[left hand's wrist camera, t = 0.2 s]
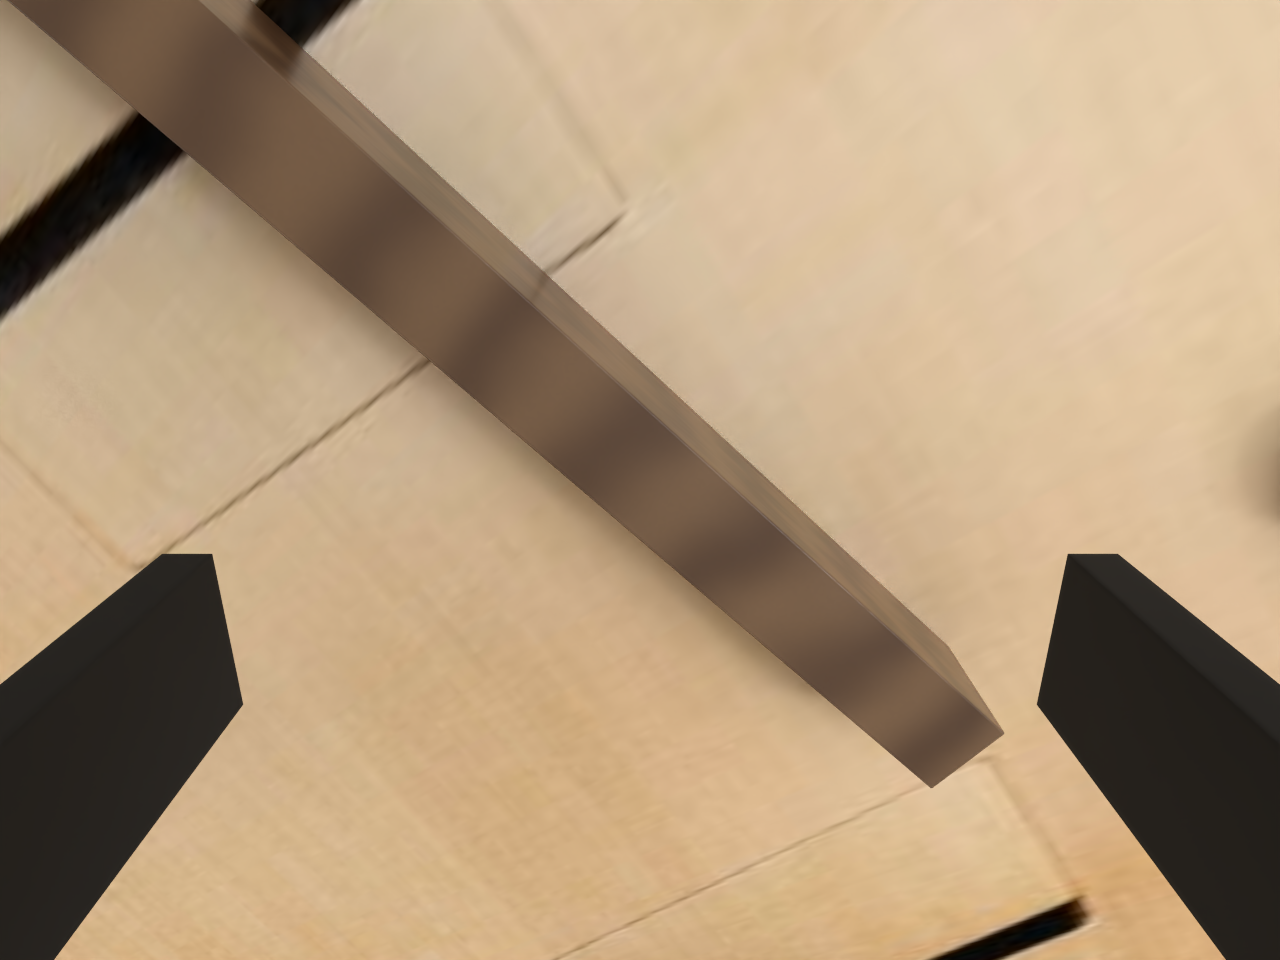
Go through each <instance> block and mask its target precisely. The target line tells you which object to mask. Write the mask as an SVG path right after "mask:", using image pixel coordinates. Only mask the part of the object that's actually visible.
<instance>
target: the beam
mask: <svg viewBox="0 0 1280 960" xmlns="http://www.w3.org/2000/svg"><path fill="white" fill-rule="evenodd" d="M8 1H9V2H10V3H11V4H12V5H14V6H15V7H16V8H17V9H18V10H20V11H21V12H22V13H23V14H24V15H25V16H27V17H28V18H29V19H30V20H31V21H32V22H34V23H35V24H36V25H37V26H38V27H39V28H41V29H42V30H43V31H44V32H45V33H46V34H48V35H49V36H50V37H51V38H52V39H53V40H55V41H56V42H57V43H58V44H59V45H61V46H62V47H63V48H64V49H65V50H66V51H68V52H69V53H70V54H71V55H72V56H73V57H75V58H76V59H77V60H78V61H79V62H80V63H82V64H83V65H84V66H85V67H86V68H87V69H89V70H90V71H91V72H92V73H93V74H95V75H96V76H97V77H98V78H99V79H100V80H102V81H103V82H104V83H105V84H106V85H107V86H109V87H110V88H111V89H112V90H113V91H114V92H116V93H117V94H118V95H119V96H120V97H121V98H123V99H124V100H125V101H126V102H127V103H129V104H130V105H131V106H132V107H133V108H134V109H136V110H137V111H138V112H139V113H140V114H141V115H143V116H144V117H145V118H146V119H147V120H148V121H150V122H151V123H152V124H153V125H154V126H155V127H157V128H158V129H159V130H160V131H161V132H163V133H164V134H165V135H166V136H167V137H168V138H170V139H171V140H172V141H173V142H174V143H175V144H177V145H178V146H179V147H180V148H181V149H182V150H184V151H185V152H186V153H187V154H188V155H189V156H191V157H192V158H193V159H194V160H195V161H196V162H198V163H199V164H200V165H201V166H202V167H204V168H205V169H206V170H207V171H208V172H209V173H211V174H212V175H213V176H214V177H215V178H216V179H218V180H219V181H220V182H221V183H222V184H223V185H225V186H226V187H227V188H228V189H229V190H230V191H232V192H233V193H234V194H235V195H236V196H238V197H239V198H240V199H241V200H242V201H243V202H245V203H246V204H247V205H248V206H249V207H250V208H252V209H253V210H254V211H255V212H256V213H257V214H259V215H260V216H261V217H262V218H263V219H264V220H266V221H267V222H268V223H269V224H270V225H272V226H273V227H274V228H275V229H276V230H277V231H279V232H280V233H281V234H282V235H283V236H284V237H286V238H287V239H288V240H289V241H290V242H291V243H293V244H294V245H295V246H296V247H297V248H298V249H300V250H301V251H302V252H303V253H304V254H305V255H307V256H308V257H309V258H310V259H311V260H313V261H314V262H315V263H316V264H317V265H318V266H320V267H321V268H322V269H323V270H324V271H325V272H327V273H328V274H329V275H330V276H331V277H332V278H334V279H335V280H336V281H337V282H338V283H339V284H341V285H342V286H343V287H344V288H345V289H347V290H348V291H349V292H350V293H351V294H352V295H354V296H355V297H356V298H357V299H358V300H359V301H361V302H362V303H363V304H364V305H365V306H366V307H368V308H369V309H370V310H371V311H372V312H373V313H375V314H376V315H377V316H378V317H379V318H381V319H382V320H383V321H384V322H385V323H386V324H388V325H389V326H390V327H391V328H392V329H393V330H395V331H396V332H397V333H398V334H399V335H400V336H402V337H403V338H404V339H405V340H406V341H407V342H409V343H410V344H411V345H412V346H413V347H415V348H416V349H417V350H418V351H419V352H420V353H422V354H423V355H424V356H425V357H426V358H427V359H429V360H430V361H431V362H432V363H433V364H434V365H436V366H437V367H438V368H439V369H440V370H441V371H443V372H444V373H445V374H446V375H447V376H448V377H450V378H451V379H452V380H453V381H454V382H456V383H457V384H458V385H459V386H460V387H461V388H463V389H464V390H465V391H466V392H467V393H468V394H470V395H471V396H472V397H473V398H474V399H475V400H477V401H478V402H479V403H480V404H481V405H482V406H484V407H485V408H486V409H487V410H488V411H490V412H491V413H492V414H493V415H494V416H495V417H497V418H498V419H499V420H500V421H501V422H502V423H504V424H505V425H506V426H507V427H508V428H509V429H511V430H512V431H513V432H514V433H515V434H516V435H518V436H519V437H520V438H521V439H522V440H524V441H525V442H526V443H527V444H528V445H529V446H531V447H532V448H533V449H534V450H535V451H536V452H538V453H539V454H540V455H541V456H542V457H543V458H545V459H546V460H547V461H548V462H549V463H550V464H552V465H553V466H554V467H555V468H556V469H558V470H559V471H560V472H561V473H562V474H563V475H565V476H566V477H567V478H568V479H569V480H570V481H572V482H573V483H574V484H575V485H576V486H577V487H579V488H580V489H581V490H582V491H583V492H584V493H586V494H587V495H588V496H589V497H590V498H591V499H593V500H594V501H595V502H596V503H597V504H599V505H600V506H601V507H602V508H603V509H604V510H606V511H607V512H608V513H609V514H610V515H611V516H613V517H614V518H615V519H616V520H617V521H618V522H620V523H621V524H622V525H623V526H624V527H625V528H627V529H628V530H629V531H630V532H631V533H633V534H634V535H635V536H636V537H637V538H638V539H640V540H641V541H642V542H643V543H644V544H645V545H647V546H648V547H649V548H650V549H651V550H652V551H654V552H655V553H656V554H657V555H658V556H659V557H661V558H662V559H663V560H664V561H665V562H667V563H668V564H669V565H670V566H671V567H672V568H674V569H675V570H676V571H677V572H678V573H679V574H681V575H682V576H683V577H684V578H685V579H686V580H688V581H689V582H690V583H691V584H692V585H693V586H695V587H696V588H697V589H698V590H699V591H701V592H702V593H703V594H704V595H705V596H706V597H708V598H709V599H710V600H711V601H712V602H713V603H715V604H716V605H717V606H718V607H719V608H720V609H722V610H723V611H724V612H725V613H726V614H727V615H729V616H730V617H731V618H732V619H733V620H734V621H736V622H737V623H738V624H739V625H740V626H742V627H743V628H744V629H745V630H746V631H747V632H749V633H750V634H751V635H752V636H753V637H754V638H756V639H757V640H758V641H759V642H760V643H761V644H763V645H764V646H765V647H766V648H767V649H768V650H770V651H771V652H772V653H773V654H774V655H776V656H777V657H778V658H779V659H780V660H781V661H783V662H784V663H785V664H786V665H787V666H788V667H790V668H791V669H792V670H793V671H794V672H795V673H797V674H798V675H799V676H800V677H801V678H802V679H804V680H805V681H806V682H807V683H808V684H810V685H811V686H812V687H813V688H814V689H815V690H817V691H818V692H819V693H820V694H821V695H822V696H824V697H825V698H826V699H827V700H828V701H829V702H831V703H832V704H833V705H834V706H835V707H836V708H838V709H839V710H840V711H841V712H842V713H844V714H845V715H846V716H847V717H848V718H849V719H851V720H852V721H853V722H854V723H855V724H856V725H858V726H859V727H860V728H861V729H862V730H863V731H865V732H866V733H867V734H868V735H869V736H870V737H872V738H873V739H874V740H875V741H876V742H877V743H879V744H880V745H881V746H882V747H883V748H885V749H886V750H887V751H888V752H889V753H890V754H892V755H893V756H894V757H895V758H896V759H897V760H899V761H900V762H901V763H902V764H903V765H904V766H906V767H907V768H908V769H909V770H910V771H911V772H913V773H914V774H915V775H916V776H917V777H919V778H920V779H921V780H922V781H923V782H924V783H926V784H927V785H928V786H929V787H930V788H933V787H934V786H936V785H937V784H938V783H940V782H941V781H942V780H944V779H945V778H946V777H948V776H949V775H950V774H952V773H953V772H954V771H956V770H957V769H958V768H960V767H961V766H962V765H964V764H965V763H966V762H968V761H969V760H970V759H972V758H973V757H974V756H976V755H977V754H978V753H979V752H981V751H982V750H983V749H985V748H986V747H987V746H989V745H990V744H991V743H993V742H994V741H995V740H997V739H998V738H999V737H1001V736H1002V735H1003V734H1004V732H1003V730H1002V729H1001V727H1000V725H999V724H998V722H997V721H996V719H995V718H994V716H993V715H992V713H991V712H990V710H989V708H988V707H987V705H986V704H985V702H984V701H983V699H982V698H981V696H980V695H979V693H978V691H977V690H976V688H975V687H974V685H973V684H972V682H971V681H970V679H969V678H968V676H967V674H966V673H965V671H964V670H963V668H962V667H961V665H960V664H959V662H958V661H957V659H956V657H955V656H954V654H953V653H952V651H951V650H950V648H949V647H948V646H947V645H946V644H945V643H944V642H943V641H942V640H941V639H940V638H938V637H937V636H936V635H935V634H934V633H933V632H932V631H931V630H930V629H929V628H928V627H927V626H926V625H924V624H923V623H922V622H921V621H920V620H919V619H918V618H917V617H916V616H915V615H914V614H913V613H911V612H910V611H909V610H908V609H907V608H906V607H905V606H904V605H903V604H902V603H901V602H900V601H899V600H897V599H896V598H895V597H894V596H893V595H892V594H891V593H890V592H889V591H888V590H887V589H886V588H884V587H883V586H882V585H881V584H880V583H879V582H878V581H877V580H876V579H875V578H874V577H873V576H872V575H870V574H869V573H868V572H867V571H866V570H865V569H864V568H863V567H862V566H861V565H860V564H859V563H857V562H856V561H855V560H854V559H853V558H852V557H851V556H850V555H849V554H848V553H847V552H846V551H845V550H843V549H842V548H841V547H840V546H839V545H838V544H837V543H836V542H835V541H834V540H833V539H832V538H830V537H829V536H828V535H827V534H826V533H825V532H824V531H823V530H822V529H821V528H820V527H819V526H818V525H816V524H815V523H814V522H813V521H812V520H811V519H810V518H809V517H808V516H807V515H806V514H805V513H803V512H802V511H801V510H800V509H799V508H798V507H797V506H796V505H795V504H794V503H793V502H792V501H791V500H789V499H788V498H787V497H786V496H785V495H784V494H783V493H782V492H781V491H780V490H779V489H778V488H776V487H775V486H774V485H773V484H772V483H771V482H770V481H769V480H768V479H767V478H766V477H765V476H764V475H762V474H761V473H760V472H759V471H758V470H757V469H756V468H755V467H754V466H753V465H752V464H751V463H749V462H748V461H747V460H746V459H745V458H744V457H743V456H742V455H741V454H740V453H739V452H738V451H737V450H735V449H734V448H733V447H732V446H731V445H730V444H729V443H728V442H727V441H726V440H725V439H724V438H722V437H721V436H720V435H719V434H718V433H717V432H716V431H715V430H714V429H713V428H712V427H711V426H710V425H708V424H707V423H706V422H705V421H704V420H703V419H702V418H701V417H700V416H699V415H698V414H697V413H695V412H694V411H693V410H692V409H691V408H690V407H689V406H688V405H687V404H686V403H685V402H684V401H682V400H681V399H680V398H679V397H678V396H677V395H676V394H675V393H674V392H673V391H672V390H671V389H670V388H668V387H667V386H666V385H665V384H664V383H663V382H662V381H661V380H660V379H659V378H658V377H657V376H655V375H654V374H653V373H652V372H651V371H650V370H649V369H648V368H647V367H646V366H645V365H644V364H643V363H641V362H640V361H639V360H638V359H637V358H636V357H635V356H634V355H633V354H632V353H631V352H630V351H628V350H627V349H626V348H625V347H624V346H623V345H622V344H621V343H620V342H619V341H618V340H617V339H616V338H614V337H613V336H612V335H611V334H610V333H609V332H608V331H607V330H606V329H605V328H604V327H603V326H601V325H600V324H599V323H598V322H597V321H596V320H595V319H594V318H593V317H592V316H591V315H590V314H589V313H587V312H586V311H585V310H584V309H583V308H582V307H581V306H580V305H579V304H578V303H577V302H576V301H574V300H573V299H572V298H571V297H570V296H569V295H568V294H567V293H566V292H565V291H564V290H563V289H562V288H560V287H559V286H558V285H557V284H556V283H555V282H554V281H553V280H552V279H551V278H550V277H549V276H547V275H546V274H545V273H544V272H543V271H542V270H541V269H540V268H539V267H538V266H537V265H536V264H535V263H533V262H532V261H531V260H530V259H529V258H528V257H527V256H526V255H525V254H524V253H523V252H522V251H520V250H519V249H518V248H517V247H516V246H515V245H514V244H513V243H512V242H511V241H510V240H509V239H508V238H506V237H505V236H504V235H503V234H502V233H501V232H500V231H499V230H498V229H497V228H496V227H495V226H493V225H492V224H491V223H490V222H489V221H488V220H487V219H486V218H485V217H484V216H483V215H482V214H481V213H479V212H478V211H477V210H476V209H475V208H474V207H473V206H472V205H471V204H470V203H469V202H468V201H466V200H465V199H464V198H463V197H462V196H461V195H460V194H459V193H458V192H457V191H456V190H455V189H454V188H452V187H451V186H450V185H449V184H448V183H447V182H446V181H445V180H444V179H443V178H442V177H441V176H439V175H438V174H437V173H436V172H435V171H434V170H433V169H432V168H431V167H430V166H429V165H428V164H426V163H425V162H424V161H423V160H422V159H421V158H420V157H419V156H418V155H417V154H416V153H415V152H414V151H412V150H411V149H410V148H409V147H408V146H407V145H406V144H405V143H404V142H403V141H402V140H401V139H399V138H398V137H397V136H396V135H395V134H394V133H393V132H392V131H391V130H390V129H389V128H388V127H387V126H385V125H384V124H383V123H382V122H381V121H380V120H379V119H378V118H377V117H376V116H375V115H374V114H372V113H371V112H370V111H369V110H368V109H367V108H366V107H365V106H364V105H363V104H362V103H361V102H360V101H358V100H357V99H356V98H355V97H354V96H353V95H352V94H351V93H350V92H349V91H348V90H347V89H345V88H344V87H343V86H342V85H341V84H340V83H339V82H338V81H337V80H336V79H335V78H334V77H333V76H331V75H330V74H329V73H328V72H327V71H326V70H325V69H324V68H323V67H322V66H321V65H320V64H318V63H317V62H316V61H315V60H314V59H313V58H312V57H311V56H310V55H309V54H308V53H307V52H306V51H304V50H303V49H302V48H301V47H300V46H299V45H298V44H297V43H296V42H295V41H294V40H293V39H291V38H290V37H289V36H288V35H287V34H286V33H285V32H284V31H283V30H282V29H281V28H280V27H279V26H277V25H276V24H275V23H274V22H273V21H272V20H271V19H270V18H269V17H268V16H267V15H266V14H264V13H263V12H262V11H261V10H260V9H259V8H258V7H257V6H256V5H255V4H254V3H253V2H252V1H250V0H8Z"/></svg>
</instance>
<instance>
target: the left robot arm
mask: <svg viewBox="0 0 1280 960" xmlns="http://www.w3.org/2000/svg"><path fill="white" fill-rule="evenodd" d="M242 705H243V702H242V697H241V692H240V687H239V682H238V677H237V672H236V668H235V663H234V658H233V653H232V648H231V643H230V638H229V634H228V629H227V624H226V619H225V614H224V609H223V604H222V600H221V595H220V590H219V585H218V580H217V575H216V570H215V566H214V561H213V556H212V554H162V555H160V556H159V557H158V558H157V559H155V560H154V561H153V562H152V563H150V564H149V565H148V566H147V567H145V568H144V569H143V570H142V571H140V572H139V573H138V574H137V575H135V576H134V577H133V578H132V579H131V580H129V581H128V582H127V583H126V584H124V585H123V586H122V587H121V588H119V589H118V590H117V591H116V592H114V593H113V594H112V595H111V596H109V597H108V598H107V599H106V600H104V601H103V602H102V603H101V604H100V605H98V606H97V607H96V608H95V609H93V610H92V611H91V612H90V613H88V614H87V615H86V616H85V617H83V618H82V619H81V620H80V621H78V622H77V623H76V624H75V625H73V626H72V627H71V628H70V629H69V630H67V631H66V632H65V633H64V634H62V635H61V636H60V637H59V638H57V639H56V640H55V641H54V642H52V643H51V644H50V645H49V646H47V647H46V648H45V649H44V650H42V651H41V652H40V653H39V654H38V655H36V656H35V657H34V658H33V659H31V660H30V661H29V662H28V663H26V664H25V665H24V666H23V667H21V668H20V669H19V670H18V671H16V672H15V673H14V674H13V675H11V676H10V677H9V678H8V679H7V680H5V681H4V682H3V683H2V684H0V960H54V959H55V958H56V956H57V955H58V954H59V952H60V951H61V950H62V948H63V947H64V946H65V944H66V943H67V942H68V940H69V939H70V937H71V936H72V935H73V933H74V932H75V931H76V929H77V928H78V927H79V925H80V924H81V923H82V921H83V920H84V919H85V917H86V916H87V915H88V913H89V912H90V910H91V909H92V908H93V906H94V905H95V904H96V902H97V901H98V900H99V898H100V897H101V896H102V894H103V893H104V892H105V890H106V889H107V888H108V886H109V885H110V883H111V882H112V881H113V879H114V878H115V877H116V875H117V874H118V873H119V871H120V870H121V869H122V867H123V866H124V865H125V863H126V862H127V861H128V859H129V858H130V856H131V855H132V854H133V852H134V851H135V850H136V848H137V847H138V846H139V844H140V843H141V842H142V840H143V839H144V838H145V836H146V835H147V834H148V832H149V831H150V829H151V828H152V827H153V825H154V824H155V823H156V821H157V820H158V819H159V817H160V816H161V815H162V813H163V812H164V811H165V809H166V808H167V807H168V805H169V804H170V802H171V801H172V800H173V798H174V797H175V796H176V794H177V793H178V792H179V790H180V789H181V788H182V786H183V785H184V784H185V782H186V781H187V780H188V778H189V777H190V775H191V774H192V773H193V771H194V770H195V769H196V767H197V766H198V765H199V763H200V762H201V761H202V759H203V758H204V757H205V755H206V754H207V753H208V751H209V750H210V748H211V747H212V746H213V744H214V743H215V742H216V740H217V739H218V738H219V736H220V735H221V734H222V732H223V731H224V730H225V728H226V727H227V726H228V724H229V723H230V721H231V720H232V719H233V717H234V716H235V715H236V713H237V712H238V711H239V709H240V708H241V707H242ZM1037 705H1038V707H1039V708H1040V709H1041V711H1042V712H1043V713H1044V715H1045V716H1046V717H1047V719H1048V720H1049V721H1050V723H1051V724H1052V726H1053V727H1054V728H1055V730H1056V731H1057V732H1058V734H1059V735H1060V736H1061V738H1062V739H1063V740H1064V742H1065V743H1066V744H1067V746H1068V747H1069V748H1070V750H1071V751H1072V753H1073V754H1074V755H1075V757H1076V758H1077V759H1078V761H1079V762H1080V763H1081V765H1082V766H1083V767H1084V769H1085V770H1086V771H1087V773H1088V774H1089V775H1090V777H1091V778H1092V780H1093V781H1094V782H1095V784H1096V785H1097V786H1098V788H1099V789H1100V790H1101V792H1102V793H1103V794H1104V796H1105V797H1106V798H1107V800H1108V801H1109V802H1110V804H1111V805H1112V807H1113V808H1114V809H1115V811H1116V812H1117V813H1118V815H1119V816H1120V817H1121V819H1122V820H1123V821H1124V823H1125V824H1126V825H1127V827H1128V828H1129V829H1130V831H1131V832H1132V834H1133V835H1134V836H1135V838H1136V839H1137V840H1138V842H1139V843H1140V844H1141V846H1142V847H1143V848H1144V850H1145V851H1146V852H1147V854H1148V855H1149V856H1150V858H1151V859H1152V861H1153V862H1154V863H1155V865H1156V866H1157V867H1158V869H1159V870H1160V871H1161V873H1162V874H1163V875H1164V877H1165V878H1166V879H1167V881H1168V882H1169V883H1170V885H1171V886H1172V888H1173V889H1174V890H1175V892H1176V893H1177V894H1178V896H1179V897H1180V898H1181V900H1182V901H1183V902H1184V904H1185V905H1186V906H1187V908H1188V909H1189V910H1190V912H1191V913H1192V915H1193V916H1194V917H1195V919H1196V920H1197V921H1198V923H1199V924H1200V925H1201V927H1202V928H1203V929H1204V931H1205V932H1206V933H1207V935H1208V936H1209V937H1210V939H1211V940H1212V942H1213V943H1214V944H1215V946H1216V947H1217V948H1218V950H1219V951H1220V952H1221V954H1222V955H1223V956H1224V958H1225V959H1226V960H1280V684H1278V683H1277V682H1276V681H1275V680H1273V679H1272V678H1271V677H1270V676H1269V675H1267V674H1266V673H1265V672H1264V671H1262V670H1261V669H1260V668H1259V667H1257V666H1256V665H1255V664H1254V663H1252V662H1251V661H1250V660H1249V659H1247V658H1246V657H1245V656H1244V655H1242V654H1241V653H1240V652H1239V651H1238V650H1236V649H1235V648H1234V647H1233V646H1231V645H1230V644H1229V643H1228V642H1226V641H1225V640H1224V639H1223V638H1221V637H1220V636H1219V635H1218V634H1216V633H1215V632H1214V631H1213V630H1211V629H1210V628H1209V627H1208V626H1207V625H1205V624H1204V623H1203V622H1202V621H1200V620H1199V619H1198V618H1197V617H1195V616H1194V615H1193V614H1192V613H1190V612H1189V611H1188V610H1187V609H1185V608H1184V607H1183V606H1182V605H1180V604H1179V603H1178V602H1177V601H1176V600H1174V599H1173V598H1172V597H1171V596H1169V595H1168V594H1167V593H1166V592H1164V591H1163V590H1162V589H1161V588H1159V587H1158V586H1157V585H1156V584H1154V583H1153V582H1152V581H1151V580H1149V579H1148V578H1147V577H1146V576H1145V575H1143V574H1142V573H1141V572H1140V571H1138V570H1137V569H1136V568H1135V567H1133V566H1132V565H1131V564H1130V563H1128V562H1127V561H1126V560H1125V559H1123V558H1122V557H1121V556H1120V555H1118V554H1068V556H1067V561H1066V566H1065V570H1064V575H1063V580H1062V585H1061V590H1060V595H1059V600H1058V604H1057V609H1056V614H1055V619H1054V624H1053V629H1052V634H1051V638H1050V643H1049V648H1048V653H1047V658H1046V663H1045V668H1044V672H1043V677H1042V682H1041V687H1040V692H1039V697H1038V702H1037Z"/></svg>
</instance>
